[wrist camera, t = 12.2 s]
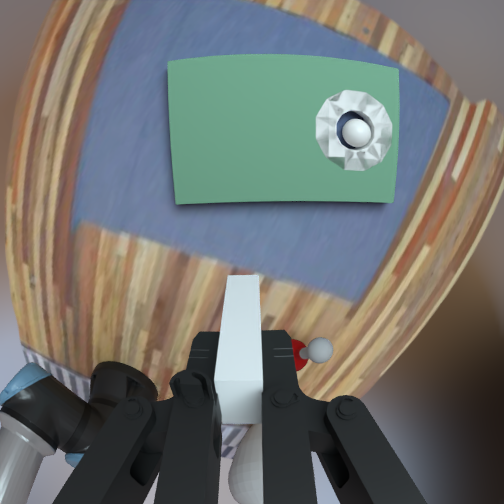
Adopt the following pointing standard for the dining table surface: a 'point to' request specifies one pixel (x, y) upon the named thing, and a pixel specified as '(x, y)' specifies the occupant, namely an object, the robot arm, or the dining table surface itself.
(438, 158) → the dining table surface
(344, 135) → the ball
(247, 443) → the vase
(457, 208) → the dining table surface
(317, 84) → the putting mat
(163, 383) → the dining table surface
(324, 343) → the molecular model
